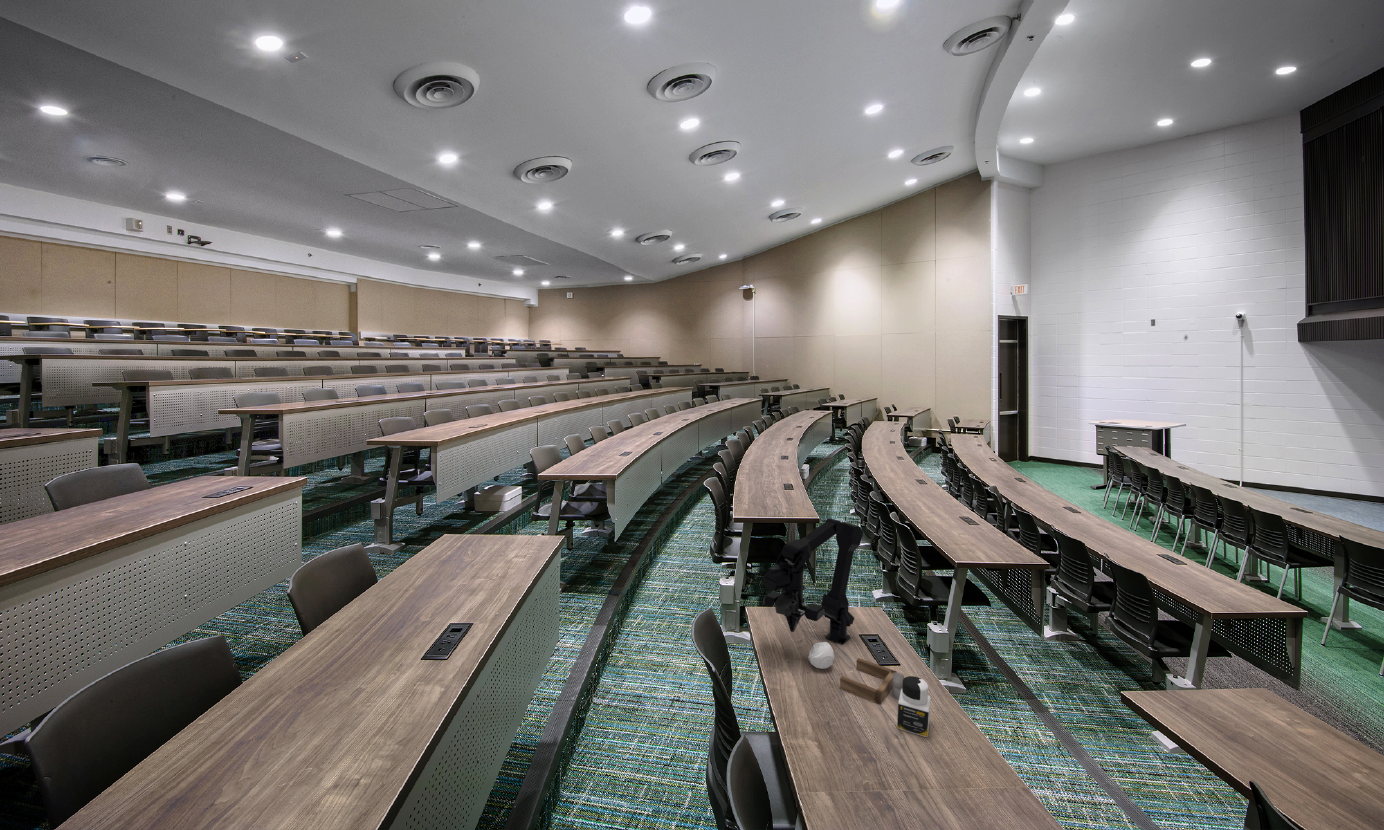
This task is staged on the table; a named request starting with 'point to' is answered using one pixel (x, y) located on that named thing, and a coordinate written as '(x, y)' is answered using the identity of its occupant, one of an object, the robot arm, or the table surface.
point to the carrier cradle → (869, 693)
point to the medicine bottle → (914, 706)
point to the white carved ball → (821, 655)
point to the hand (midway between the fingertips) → (792, 631)
